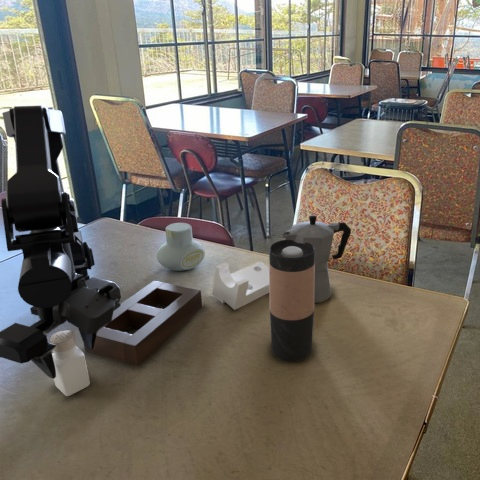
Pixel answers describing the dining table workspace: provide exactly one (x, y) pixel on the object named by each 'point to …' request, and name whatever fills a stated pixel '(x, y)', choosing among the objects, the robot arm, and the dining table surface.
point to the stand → (146, 321)
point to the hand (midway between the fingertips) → (72, 362)
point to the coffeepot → (320, 249)
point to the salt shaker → (69, 364)
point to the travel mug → (291, 299)
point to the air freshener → (180, 248)
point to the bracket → (240, 284)
